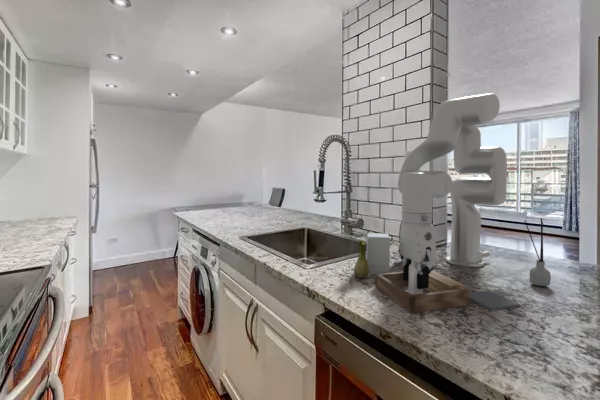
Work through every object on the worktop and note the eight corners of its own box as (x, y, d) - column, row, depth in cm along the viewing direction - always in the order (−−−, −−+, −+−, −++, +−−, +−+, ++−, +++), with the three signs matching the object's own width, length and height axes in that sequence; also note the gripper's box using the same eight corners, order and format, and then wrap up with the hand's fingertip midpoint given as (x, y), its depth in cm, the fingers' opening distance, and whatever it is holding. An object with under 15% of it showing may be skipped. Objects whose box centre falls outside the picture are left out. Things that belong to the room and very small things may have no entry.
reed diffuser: (550, 292, 84) (555, 221, 82) (520, 287, 88) (524, 219, 86) (549, 282, 92) (553, 217, 90) (521, 277, 96) (524, 215, 94)
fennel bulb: (366, 281, 94) (366, 243, 93) (351, 278, 96) (351, 241, 95) (371, 275, 99) (371, 239, 98) (356, 273, 101) (357, 238, 100)
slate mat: (489, 292, 84) (489, 290, 84) (520, 306, 75) (520, 304, 75) (462, 296, 82) (462, 294, 82) (490, 310, 73) (491, 308, 73)
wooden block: (430, 284, 91) (430, 269, 90) (463, 301, 78) (464, 284, 78) (417, 285, 90) (417, 270, 89) (449, 303, 77) (449, 286, 77)
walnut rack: (425, 281, 93) (426, 269, 92) (470, 305, 76) (470, 289, 76) (375, 287, 88) (375, 274, 88) (410, 313, 72) (410, 297, 72)
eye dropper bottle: (404, 296, 81) (404, 252, 80) (410, 289, 86) (410, 248, 85) (421, 299, 79) (422, 255, 77) (426, 292, 83) (427, 250, 82)
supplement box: (389, 275, 99) (390, 237, 98) (366, 274, 101) (367, 236, 99) (387, 268, 106) (388, 233, 105) (366, 267, 108) (366, 232, 107)
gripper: (452, 222, 73) (449, 294, 75) (409, 213, 89) (408, 272, 91) (425, 224, 71) (423, 298, 73) (387, 214, 88) (386, 275, 89)
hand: (415, 283), depth 82 cm, fingers closed on eye dropper bottle, 5 cm apart
